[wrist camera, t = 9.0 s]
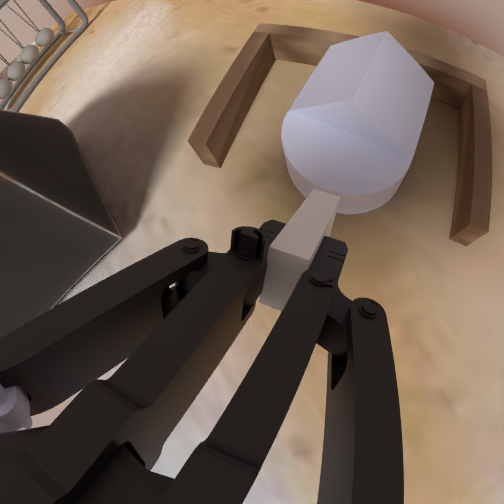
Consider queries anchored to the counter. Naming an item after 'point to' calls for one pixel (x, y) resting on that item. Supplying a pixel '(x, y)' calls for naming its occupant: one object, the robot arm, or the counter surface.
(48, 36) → the newton's cradle
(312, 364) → the counter surface
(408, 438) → the counter surface
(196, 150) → the walnut bay
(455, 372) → the counter surface
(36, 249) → the voltmeter
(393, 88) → the wedge on round base
